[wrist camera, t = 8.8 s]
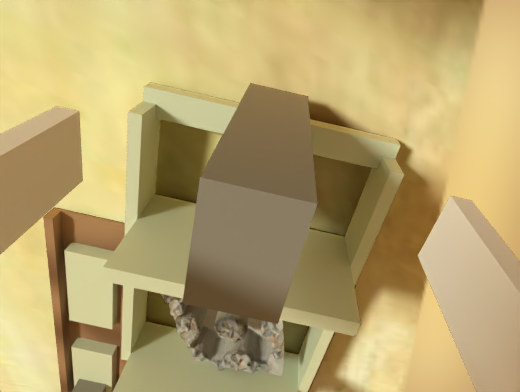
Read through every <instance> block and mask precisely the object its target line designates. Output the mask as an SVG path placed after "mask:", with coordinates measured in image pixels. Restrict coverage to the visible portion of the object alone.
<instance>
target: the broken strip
mask: <svg viewBox="0 0 520 392" xmlns="http://www.w3.org/2000/svg"><path fill="white" fill-rule="evenodd" d="M64 252H65V266H66V280H67V293H68V307H69V320H71V321H75V322H80V323H84V324H89V325H94V326H98V327H103V328H107V329H113V327H114V325H115V324H116V322H117V320H118V284H114V283H110V282H105V281H103V266H104V265H105V263H106V262H107V261H108V259H109V258H110V256H111V255H112V254H113V252H114V251H111V250H106V249H102V248H97V247H93V246H88V245H83V244H79V243H74V242H72V243H71V244H70V245H69V246H68V247H67V248H66V249H65V250H64ZM71 348H72V362H73V376H74V389H73V390H72V392H113V390H114V388H115V386H116V381H117V345H112V344H108V343H103V342H98V341H94V340H89V339H84V338H80V337H77V339H76V341H75V342H74V344H73V345H72V347H71Z"/></svg>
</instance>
